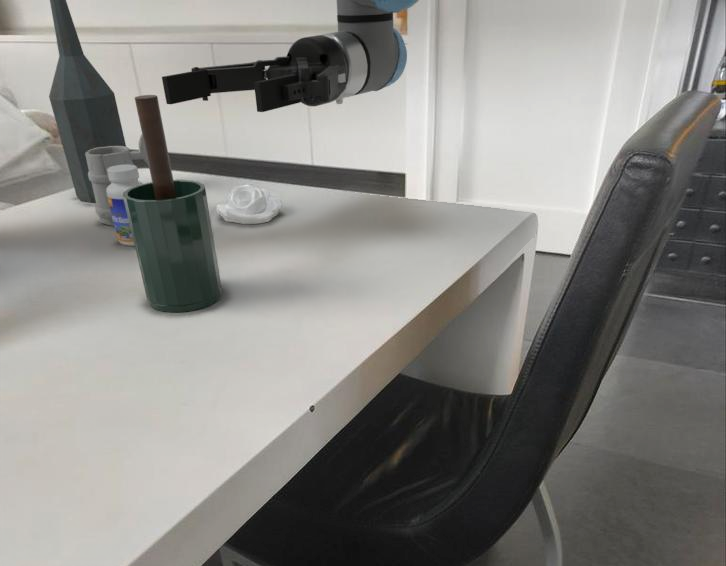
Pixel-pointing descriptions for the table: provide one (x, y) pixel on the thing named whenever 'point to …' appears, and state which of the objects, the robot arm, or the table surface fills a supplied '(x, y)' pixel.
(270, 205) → the rose
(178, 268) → the dark green pencil cup
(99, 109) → the bottle
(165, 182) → the brush
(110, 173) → the pill bottle
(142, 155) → the mug
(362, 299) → the table surface
